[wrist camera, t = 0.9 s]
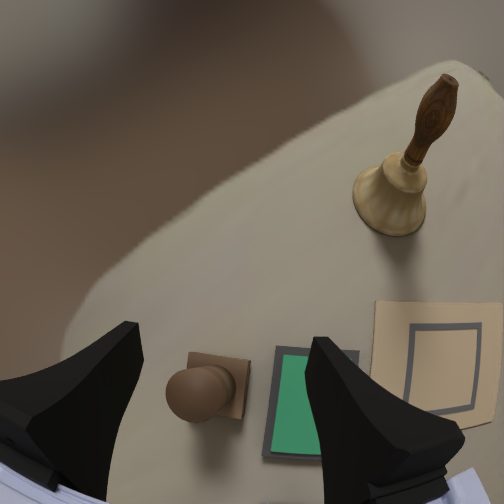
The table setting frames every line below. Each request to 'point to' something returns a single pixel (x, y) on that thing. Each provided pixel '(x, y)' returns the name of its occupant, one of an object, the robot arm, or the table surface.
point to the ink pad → (292, 407)
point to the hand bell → (406, 168)
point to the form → (440, 357)
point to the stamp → (209, 388)
